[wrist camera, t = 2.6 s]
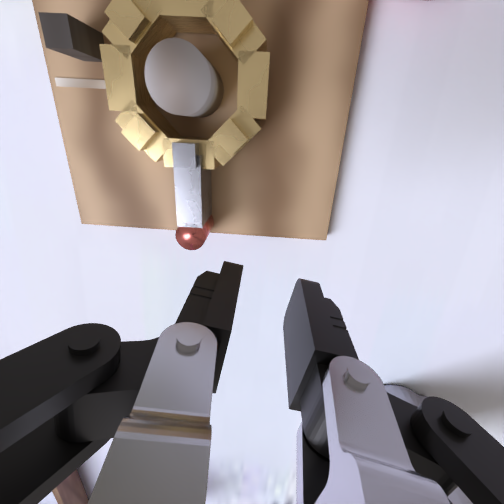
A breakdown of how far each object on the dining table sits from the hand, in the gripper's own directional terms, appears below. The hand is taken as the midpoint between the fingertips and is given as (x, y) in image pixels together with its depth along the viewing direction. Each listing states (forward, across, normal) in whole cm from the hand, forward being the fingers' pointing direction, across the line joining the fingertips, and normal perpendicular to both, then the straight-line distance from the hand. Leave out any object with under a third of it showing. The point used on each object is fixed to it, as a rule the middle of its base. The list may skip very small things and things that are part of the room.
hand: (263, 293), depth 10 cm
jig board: (+17, +7, -7) cm, 20 cm away
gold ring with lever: (+16, +7, -4) cm, 18 cm away
